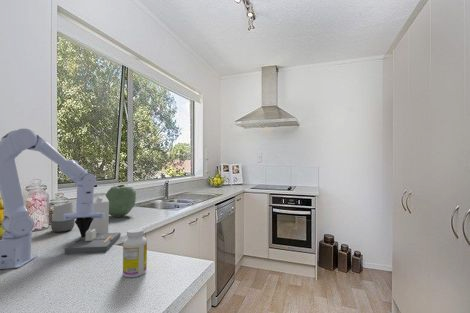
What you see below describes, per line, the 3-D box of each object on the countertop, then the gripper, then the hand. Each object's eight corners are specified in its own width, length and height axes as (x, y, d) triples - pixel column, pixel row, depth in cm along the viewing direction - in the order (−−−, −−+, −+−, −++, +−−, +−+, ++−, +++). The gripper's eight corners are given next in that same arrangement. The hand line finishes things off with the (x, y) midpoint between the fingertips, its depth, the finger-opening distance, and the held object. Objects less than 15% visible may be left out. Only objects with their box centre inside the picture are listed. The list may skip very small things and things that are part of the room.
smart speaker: (56, 228, 118) (57, 200, 118) (77, 227, 120) (78, 200, 121) (46, 234, 109) (47, 203, 109) (69, 232, 111) (70, 203, 111)
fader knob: (92, 240, 93) (92, 231, 93) (85, 240, 93) (85, 231, 93) (95, 237, 97) (96, 228, 97) (89, 237, 97) (89, 228, 97)
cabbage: (100, 216, 146) (101, 183, 147) (132, 212, 157) (133, 182, 158) (103, 221, 134) (104, 185, 134) (138, 217, 144) (139, 184, 145)
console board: (106, 251, 88) (107, 244, 88) (64, 254, 85) (65, 246, 85) (120, 236, 106) (120, 230, 106) (86, 238, 103) (86, 232, 103)
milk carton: (83, 235, 108) (85, 193, 108) (99, 231, 114) (100, 192, 115) (93, 237, 104) (94, 194, 105) (108, 233, 111) (109, 192, 111)
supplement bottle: (139, 266, 76) (140, 226, 76) (150, 272, 72) (151, 229, 72) (118, 273, 71) (119, 230, 71) (129, 280, 66) (130, 234, 67)
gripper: (107, 200, 100) (106, 232, 100) (69, 201, 98) (68, 234, 97) (101, 203, 94) (100, 237, 93) (60, 204, 91) (59, 239, 90)
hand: (84, 236), depth 95 cm, fingers closed
